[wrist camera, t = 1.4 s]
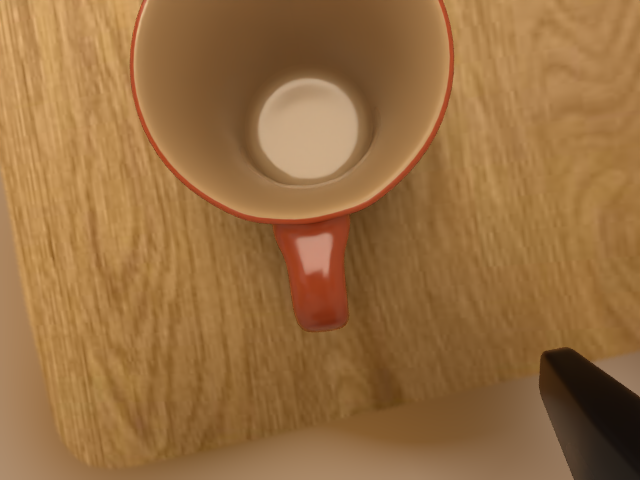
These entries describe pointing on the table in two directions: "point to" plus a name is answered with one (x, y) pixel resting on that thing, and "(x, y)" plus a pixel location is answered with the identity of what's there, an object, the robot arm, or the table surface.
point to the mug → (294, 115)
